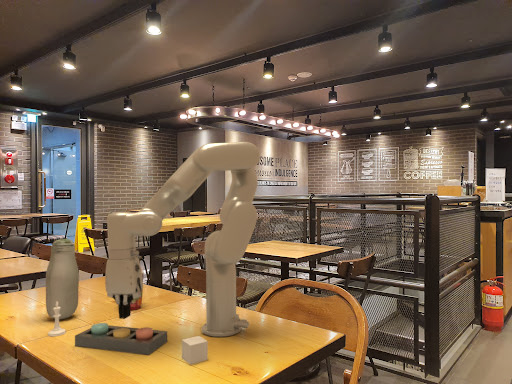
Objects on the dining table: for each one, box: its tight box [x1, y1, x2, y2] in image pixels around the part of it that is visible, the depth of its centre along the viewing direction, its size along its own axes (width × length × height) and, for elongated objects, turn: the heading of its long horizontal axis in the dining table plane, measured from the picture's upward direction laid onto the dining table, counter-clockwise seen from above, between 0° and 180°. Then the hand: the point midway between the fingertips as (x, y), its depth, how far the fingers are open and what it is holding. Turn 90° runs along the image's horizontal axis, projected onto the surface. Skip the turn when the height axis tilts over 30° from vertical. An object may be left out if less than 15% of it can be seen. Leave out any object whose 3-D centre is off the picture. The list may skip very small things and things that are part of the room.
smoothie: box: [130, 267, 145, 311], centre depth 146 cm, size 8×8×20 cm
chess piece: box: [47, 301, 66, 337], centre depth 119 cm, size 5×5×10 cm
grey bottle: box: [45, 238, 80, 321], centre depth 134 cm, size 10×10×28 cm
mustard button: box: [113, 328, 130, 338], centre depth 110 cm, size 5×5×3 cm
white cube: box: [181, 335, 209, 366], centre depth 99 cm, size 5×5×5 cm
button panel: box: [74, 324, 168, 356], centre depth 110 cm, size 24×10×3 cm, turn 74°
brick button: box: [136, 326, 154, 341], centre depth 108 cm, size 5×5×3 cm
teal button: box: [90, 322, 109, 336], centre depth 112 cm, size 5×5×3 cm
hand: (124, 317), depth 110 cm, fingers closed
